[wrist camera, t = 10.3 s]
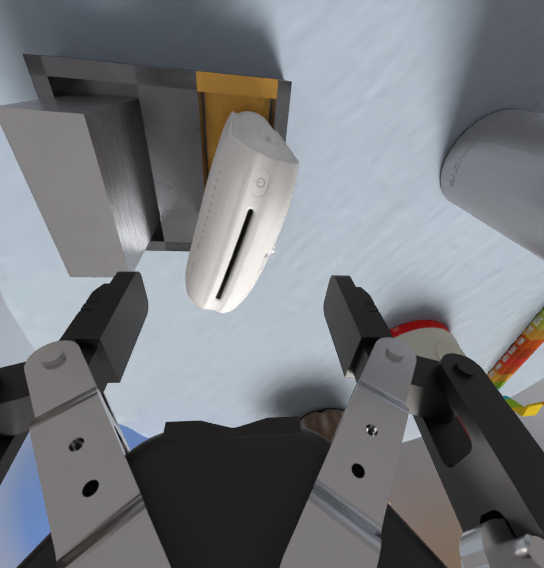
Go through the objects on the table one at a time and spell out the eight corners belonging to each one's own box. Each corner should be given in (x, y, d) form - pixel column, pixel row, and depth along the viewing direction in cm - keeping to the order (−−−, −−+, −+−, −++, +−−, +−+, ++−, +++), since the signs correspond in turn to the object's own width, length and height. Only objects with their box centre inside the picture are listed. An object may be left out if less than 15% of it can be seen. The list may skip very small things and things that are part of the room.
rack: (284, 79, 22) (313, 85, 14) (270, 234, 31) (283, 298, 22) (55, 55, 20) (-82, 45, 11) (109, 229, 29) (54, 298, 20)
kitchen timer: (403, 311, 41) (469, 408, 29) (466, 329, 45) (546, 420, 34) (352, 365, 49) (389, 459, 37) (411, 376, 53) (460, 464, 41)
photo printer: (229, 97, 19) (220, 126, 10) (284, 123, 21) (324, 171, 11) (196, 223, 25) (169, 322, 15) (241, 237, 26) (242, 336, 17)
